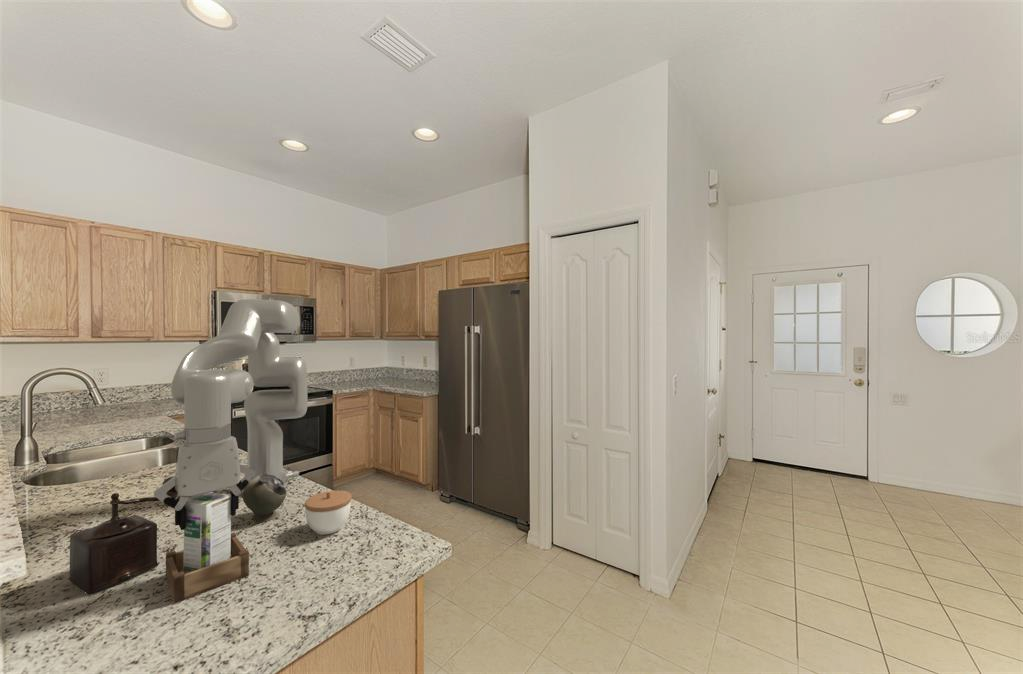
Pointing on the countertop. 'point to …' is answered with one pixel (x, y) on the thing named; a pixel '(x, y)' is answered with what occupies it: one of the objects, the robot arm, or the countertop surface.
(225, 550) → the syrup box
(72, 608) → the countertop surface
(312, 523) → the lidded jar
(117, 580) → the manual coffee grinder
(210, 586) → the crate
